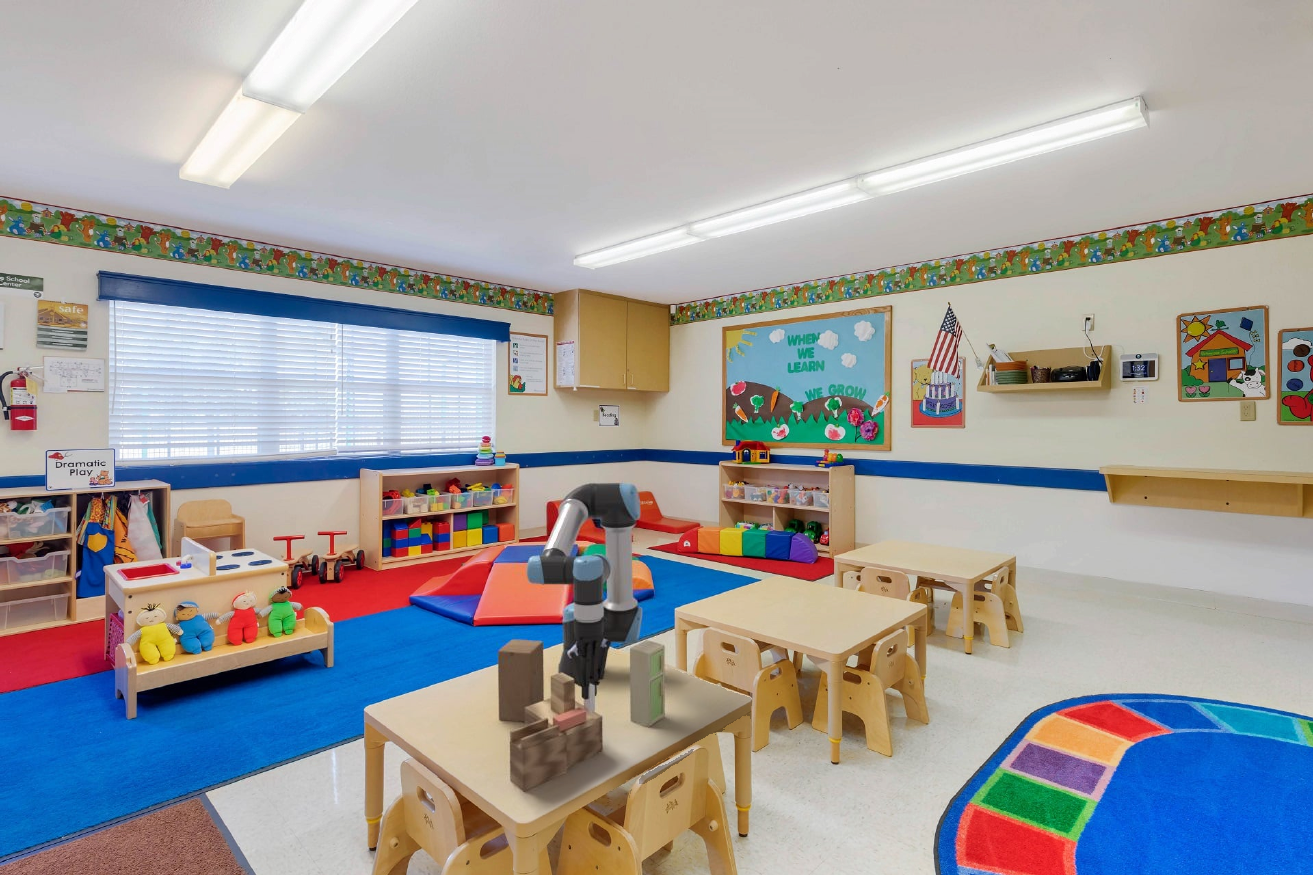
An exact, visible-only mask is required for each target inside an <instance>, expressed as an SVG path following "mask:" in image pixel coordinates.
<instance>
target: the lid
mask: <svg viewBox="0 0 1313 875" xmlns="http://www.w3.org/2000/svg"><path fill="white" fill-rule="evenodd" d="M579 707H580V708H582V709H583V710H585V709H584V704H581V703H579V702H578V701H576V684H575V683H574V678H572V677H570V676H568V675H566V674H564V673H556V674H553V675H550V697H549V698H547V699H545V700H544V701H541V702H539V703H536V704H533V705H530V706H527V707H525V712H526V713H527V714H529V715H530V716H532V717H534V718H535V719H537V720H538V721H539V720H542V719H544V718H548V726H550V725H552V724H553V717H555V716H558V715H560V714H563V713H566V712H568V711H571V710H574V709H576V708H579ZM585 711H586V710H585ZM586 720H587V721H585V722H583V723H580V724H578V725H575V726H573V727H570V728H568V729H565V730H563V731H564V732H566V733H567V735H569V734H572V733H574V732H576V731H579V730H581V729H584V728H586V727H589V726H591V725H594V724H596V723H598V722H601V721H602V722H603V715H602V714H600V713H598V712H596V711H593V712H591V713H590V712H588V711H586Z"/></svg>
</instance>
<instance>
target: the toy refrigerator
mask: <svg viewBox="0 0 1313 875" xmlns="http://www.w3.org/2000/svg"><path fill="white" fill-rule="evenodd" d="M665 649H666V648H665V645H664V644H662V643H658V642H656V641H655V642H654V641H651V640H644V641H642V642H639V643H637V644H636V645H634V646H631V647H630V649H629V667H630V668H629V678H630V679H629V680H630V682H629V683H630V686H629V687H630V690H629V691H630V692H629V693H630V694H629V697H630V702H629V703H630V704H629V706H630V714H629V715H630V721H631V722H632V723H636V724H639V725H641V726H643V727H644V726H645V727H647V728H650V727H652V725H654V724H655V723H657V722H659V721H661V719H663V718H665V717H666V713H665V712H666V709H665V708H666V706H665V705H666V704H665V703H666V702H665V701H666V698H665V697H666V696H665V690H666V688H665V687H666V686H665V682H666V681H665V680H666V679H665V677H666V676H665V675H666V674H665V673H666V672H665V670H666V669H665V666H666V665H665V663H666V662H665V661H666V660H665V658H666V657H665V652H666V651H665Z"/></svg>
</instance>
